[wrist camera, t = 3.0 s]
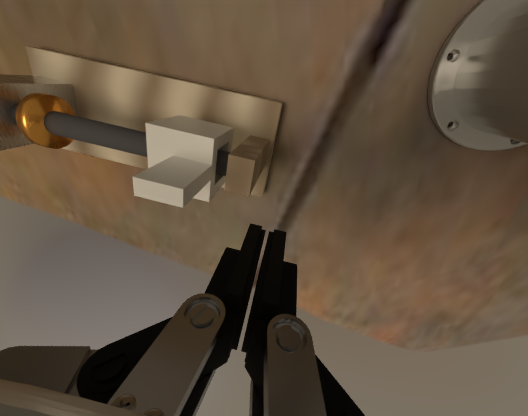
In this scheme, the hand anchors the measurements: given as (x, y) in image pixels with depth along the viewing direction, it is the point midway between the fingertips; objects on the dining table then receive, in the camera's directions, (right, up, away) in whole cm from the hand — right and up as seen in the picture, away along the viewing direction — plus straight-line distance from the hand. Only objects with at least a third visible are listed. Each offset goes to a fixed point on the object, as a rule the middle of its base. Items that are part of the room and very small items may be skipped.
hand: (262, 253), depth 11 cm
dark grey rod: (-12, +9, +10) cm, 18 cm away
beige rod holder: (-12, +11, +15) cm, 22 cm away
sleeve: (-5, +8, +11) cm, 14 cm away
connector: (-20, +13, +14) cm, 28 cm away
